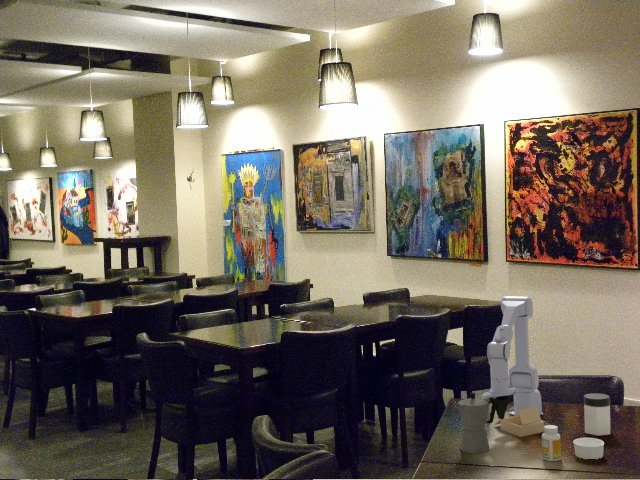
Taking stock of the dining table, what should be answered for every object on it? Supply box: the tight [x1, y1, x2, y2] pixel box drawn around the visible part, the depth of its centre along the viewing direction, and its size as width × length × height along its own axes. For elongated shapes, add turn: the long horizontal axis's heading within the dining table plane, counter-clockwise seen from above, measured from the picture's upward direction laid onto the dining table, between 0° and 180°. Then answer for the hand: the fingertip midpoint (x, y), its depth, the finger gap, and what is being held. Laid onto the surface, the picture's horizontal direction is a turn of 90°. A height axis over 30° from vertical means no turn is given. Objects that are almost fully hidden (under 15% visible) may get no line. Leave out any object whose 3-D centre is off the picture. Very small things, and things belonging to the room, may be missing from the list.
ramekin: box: [572, 437, 605, 460], centre depth 242 cm, size 9×9×4 cm
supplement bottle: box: [541, 424, 562, 462], centre depth 241 cm, size 5×5×10 cm
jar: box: [583, 392, 611, 437], centre depth 265 cm, size 9×8×12 cm
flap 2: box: [518, 406, 542, 425], centre depth 267 cm, size 8×1×5 cm, turn 117°
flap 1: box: [493, 415, 519, 426], centre depth 277 cm, size 9×1×5 cm
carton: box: [499, 416, 545, 438], centre depth 271 cm, size 10×10×4 cm
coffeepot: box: [454, 392, 497, 455], centre depth 253 cm, size 15×9×18 cm, turn 113°
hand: (500, 418), depth 266 cm, fingers closed
